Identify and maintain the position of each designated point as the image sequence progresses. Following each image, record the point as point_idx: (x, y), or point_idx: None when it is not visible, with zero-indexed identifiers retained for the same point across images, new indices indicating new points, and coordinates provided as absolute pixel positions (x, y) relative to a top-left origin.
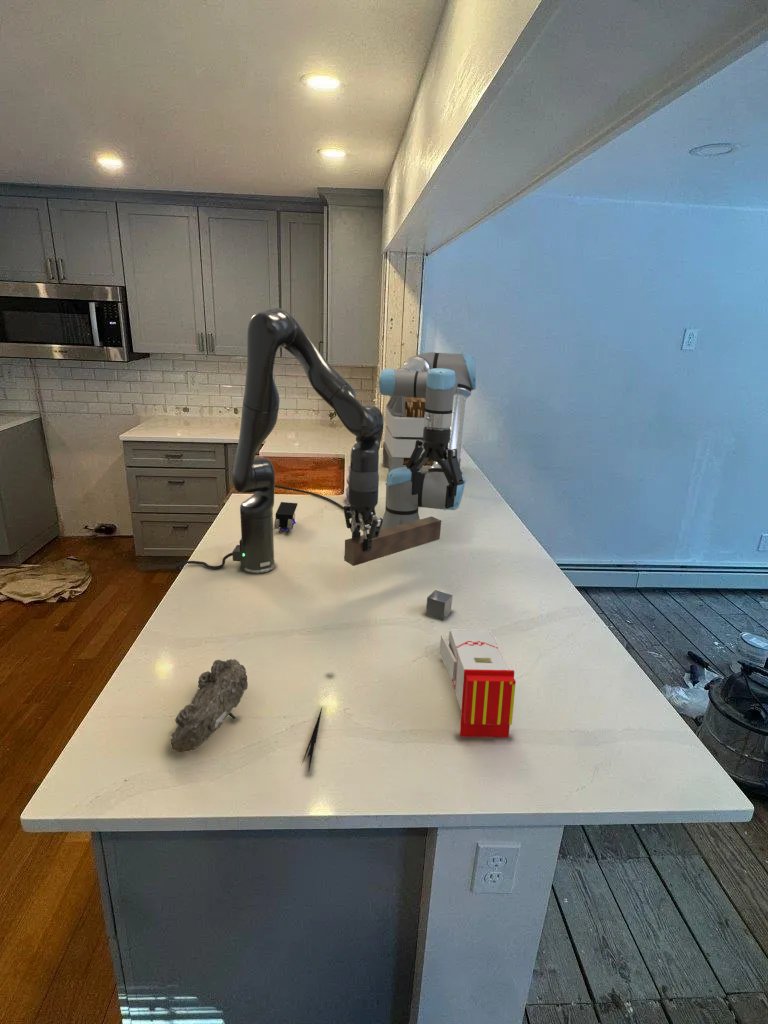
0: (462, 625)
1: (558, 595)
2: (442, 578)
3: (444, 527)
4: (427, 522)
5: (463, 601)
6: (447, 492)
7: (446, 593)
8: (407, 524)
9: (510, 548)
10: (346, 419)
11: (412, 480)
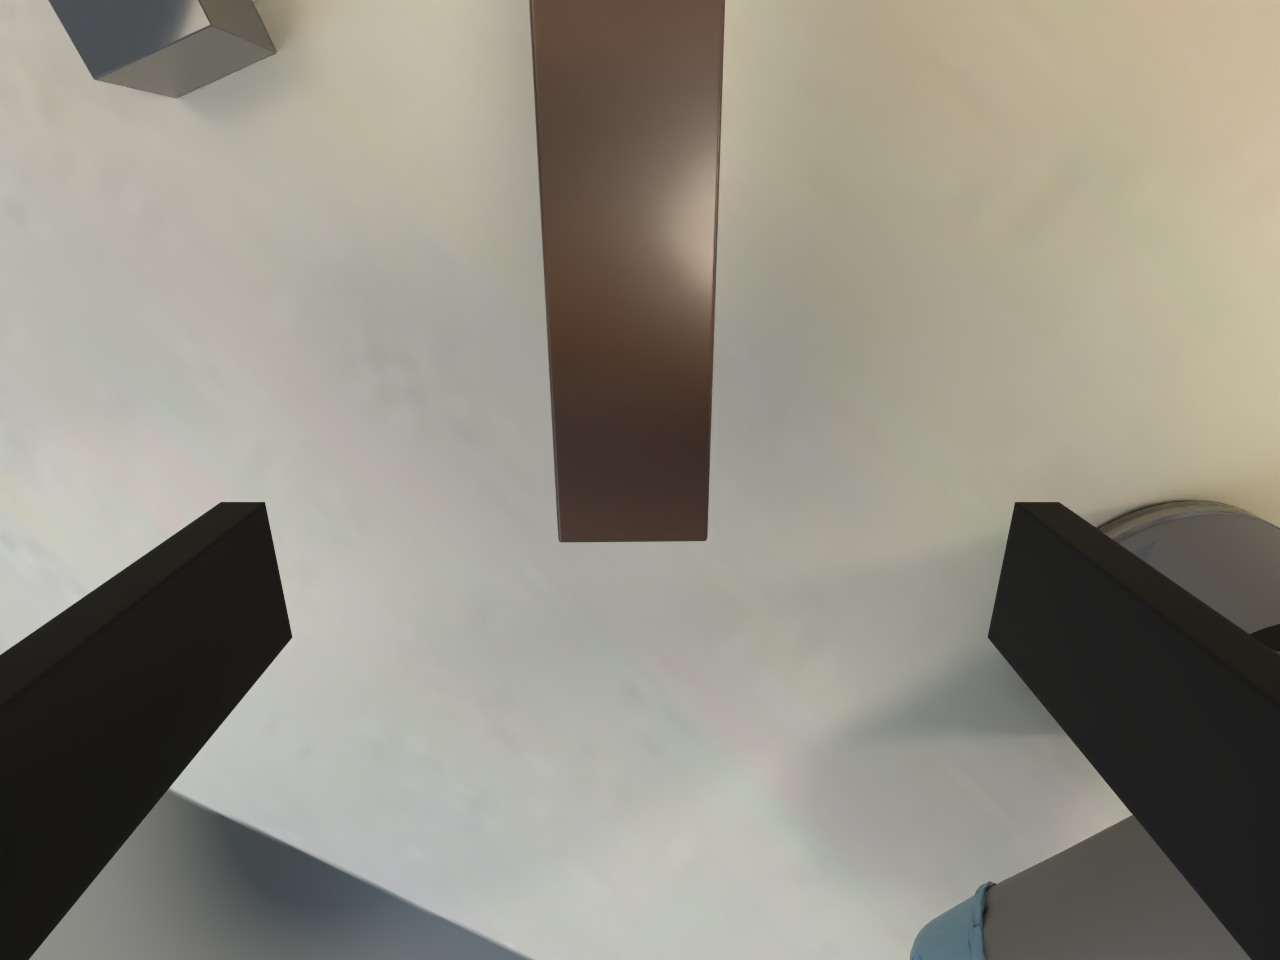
0: (5, 27)
1: None
2: (542, 381)
3: (1002, 837)
4: (590, 368)
5: (253, 267)
6: (7, 662)
7: (129, 56)
8: (676, 91)
9: (603, 891)
10: None
11: (1261, 647)
